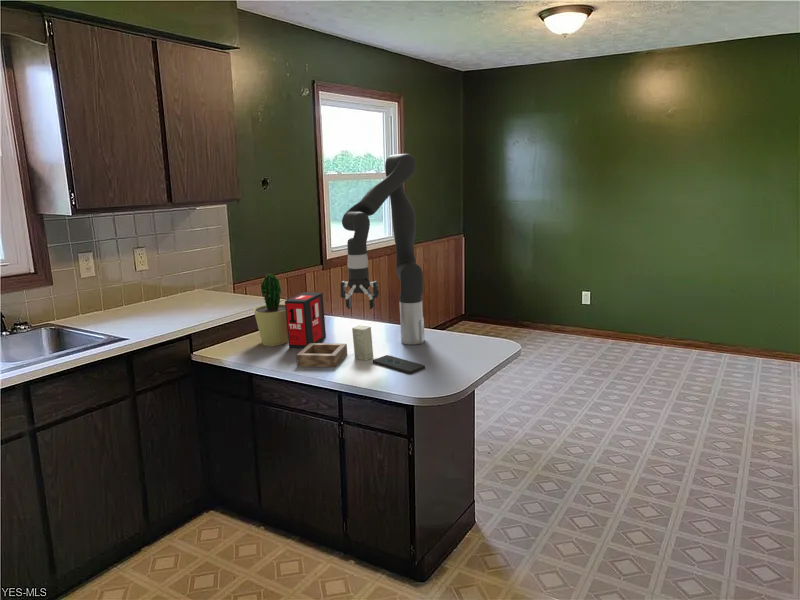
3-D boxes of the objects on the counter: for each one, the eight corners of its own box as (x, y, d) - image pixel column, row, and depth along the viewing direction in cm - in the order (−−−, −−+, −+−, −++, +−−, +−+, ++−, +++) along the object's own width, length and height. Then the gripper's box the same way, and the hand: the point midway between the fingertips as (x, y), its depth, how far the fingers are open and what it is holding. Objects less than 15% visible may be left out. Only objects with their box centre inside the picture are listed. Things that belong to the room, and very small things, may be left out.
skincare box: (373, 357, 231) (371, 327, 228) (366, 360, 228) (364, 329, 225) (361, 355, 235) (359, 324, 232) (353, 358, 232) (351, 327, 229)
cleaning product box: (307, 337, 263) (303, 292, 259) (326, 338, 261) (322, 292, 256) (289, 348, 248) (284, 301, 244) (308, 349, 245) (304, 301, 241)
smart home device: (387, 354, 230) (425, 364, 216) (387, 358, 231) (426, 369, 217) (371, 359, 225) (409, 371, 211) (371, 364, 225) (409, 375, 211)
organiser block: (347, 354, 236) (346, 343, 235) (335, 367, 222) (335, 355, 221) (311, 353, 239) (310, 343, 238) (297, 366, 225) (296, 354, 224)
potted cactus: (267, 336, 268) (261, 269, 261) (299, 337, 264) (293, 269, 257) (250, 346, 253) (242, 276, 247) (283, 347, 249) (277, 276, 242)
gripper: (379, 264, 226) (381, 306, 229) (342, 264, 229) (345, 306, 232) (374, 267, 219) (376, 311, 222) (336, 267, 221) (339, 310, 225)
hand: (360, 308), depth 227 cm, fingers open, 8 cm apart
